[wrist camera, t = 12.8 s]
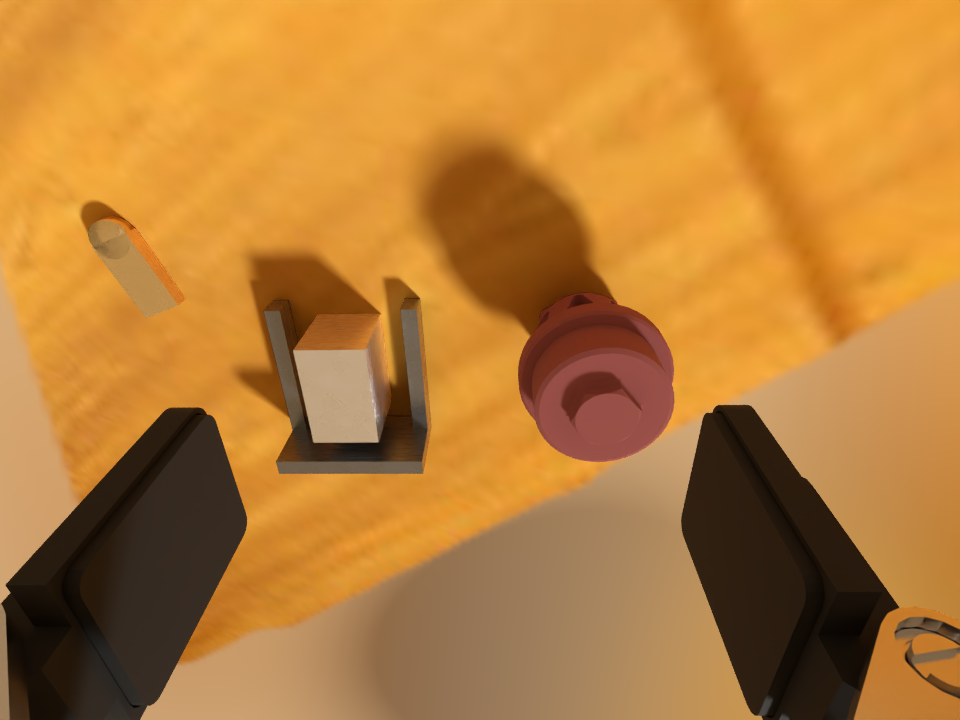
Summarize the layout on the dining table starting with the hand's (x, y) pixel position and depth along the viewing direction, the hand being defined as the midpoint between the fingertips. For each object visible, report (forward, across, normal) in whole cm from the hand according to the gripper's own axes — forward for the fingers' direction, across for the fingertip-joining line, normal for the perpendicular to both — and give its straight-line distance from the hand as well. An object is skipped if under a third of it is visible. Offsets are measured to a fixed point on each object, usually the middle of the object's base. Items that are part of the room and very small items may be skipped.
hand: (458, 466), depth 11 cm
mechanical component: (+31, -7, +12) cm, 34 cm away
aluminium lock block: (+30, +11, +15) cm, 36 cm away
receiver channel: (+30, +11, +15) cm, 36 cm away
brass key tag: (+30, +26, +7) cm, 41 cm away
